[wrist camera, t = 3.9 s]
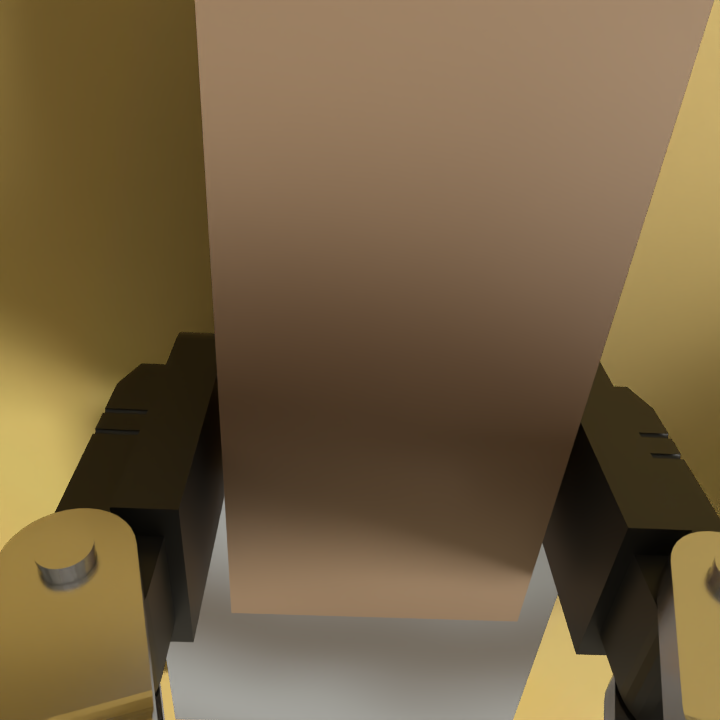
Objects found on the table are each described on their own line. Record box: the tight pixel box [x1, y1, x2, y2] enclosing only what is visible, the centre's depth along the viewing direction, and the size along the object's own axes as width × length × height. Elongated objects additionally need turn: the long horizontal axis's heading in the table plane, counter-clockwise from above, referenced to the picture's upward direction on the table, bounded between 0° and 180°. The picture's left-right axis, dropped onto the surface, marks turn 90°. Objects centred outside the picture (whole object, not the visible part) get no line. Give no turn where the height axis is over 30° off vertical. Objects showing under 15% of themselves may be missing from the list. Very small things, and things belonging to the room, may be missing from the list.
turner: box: [166, 0, 714, 720], centre depth 11 cm, size 16×8×4 cm, turn 176°
